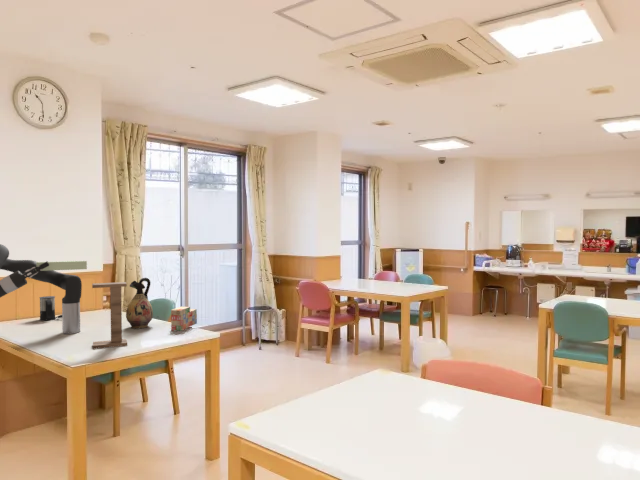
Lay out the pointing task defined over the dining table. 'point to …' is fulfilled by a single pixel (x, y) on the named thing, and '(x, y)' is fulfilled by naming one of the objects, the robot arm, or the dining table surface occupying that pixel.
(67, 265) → the sage batten
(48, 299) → the milk frother
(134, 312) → the ceramic jug
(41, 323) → the dining table surface
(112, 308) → the walnut stand
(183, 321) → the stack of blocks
